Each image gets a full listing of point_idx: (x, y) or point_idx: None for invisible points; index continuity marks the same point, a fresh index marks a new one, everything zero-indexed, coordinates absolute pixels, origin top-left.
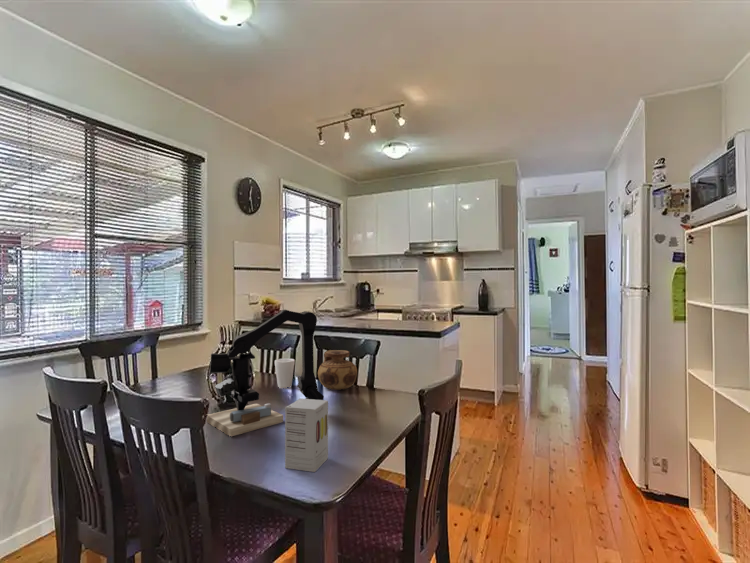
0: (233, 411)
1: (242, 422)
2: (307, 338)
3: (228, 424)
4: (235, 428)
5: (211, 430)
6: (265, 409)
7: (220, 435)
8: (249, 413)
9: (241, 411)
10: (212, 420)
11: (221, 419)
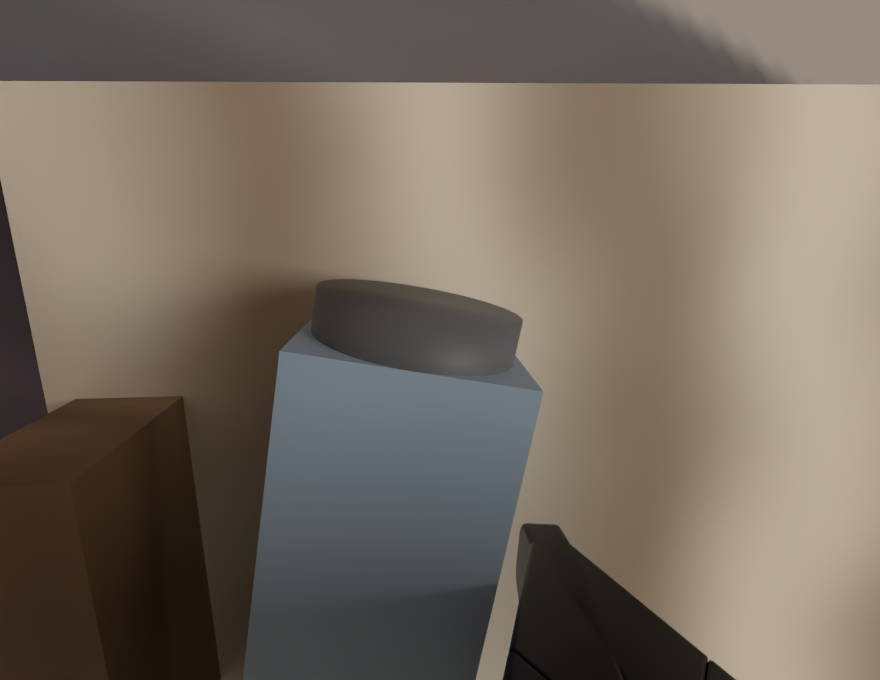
0: (511, 438)
1: (111, 410)
2: None
3: (308, 186)
4: (13, 207)
5: (599, 3)
6: None
7: (259, 16)
8: (60, 677)
9: (350, 593)
10: (870, 95)
11: (706, 208)
